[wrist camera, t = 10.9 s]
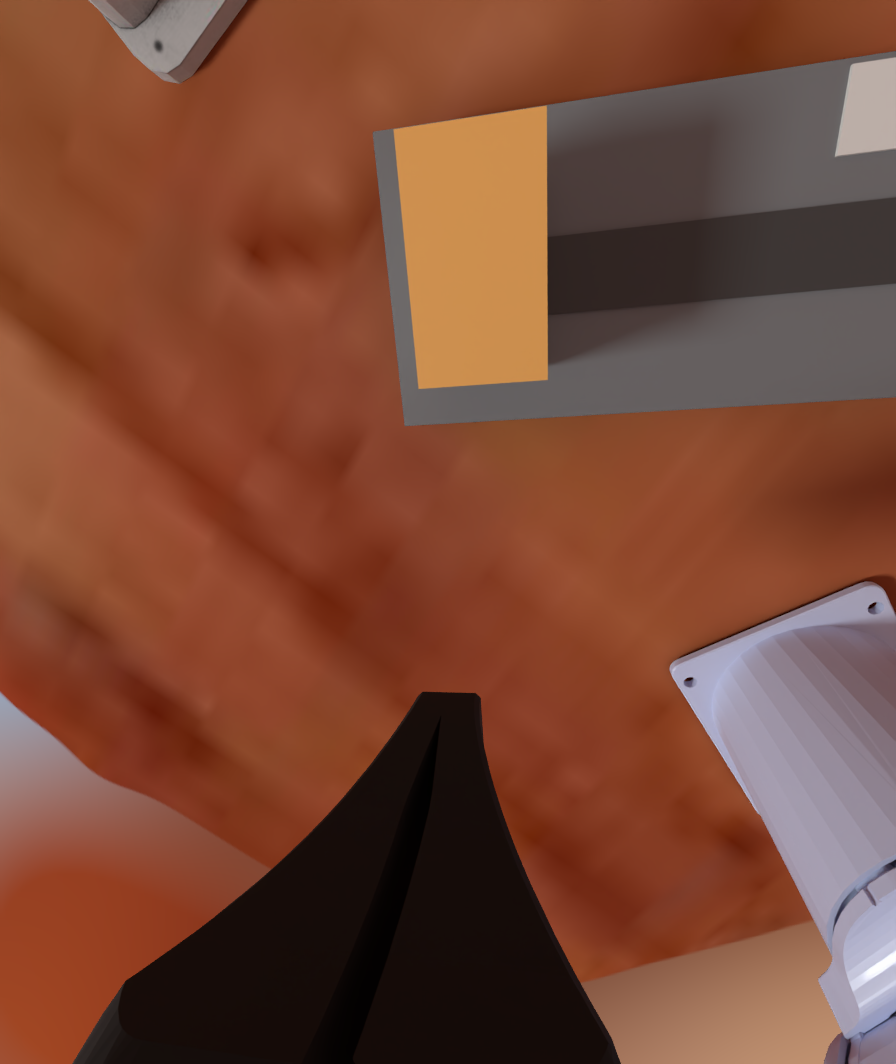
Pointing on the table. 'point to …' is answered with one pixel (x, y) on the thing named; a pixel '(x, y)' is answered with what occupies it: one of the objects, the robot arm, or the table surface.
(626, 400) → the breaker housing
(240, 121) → the table surface
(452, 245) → the knob
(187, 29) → the emergency button
